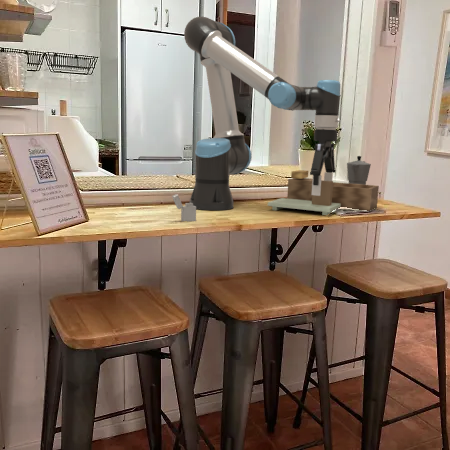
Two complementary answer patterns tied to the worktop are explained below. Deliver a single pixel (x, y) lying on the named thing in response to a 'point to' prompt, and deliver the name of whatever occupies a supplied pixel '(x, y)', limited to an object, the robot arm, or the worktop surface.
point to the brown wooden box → (337, 193)
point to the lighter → (185, 209)
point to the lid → (316, 204)
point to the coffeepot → (358, 171)
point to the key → (299, 174)
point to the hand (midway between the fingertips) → (321, 193)
